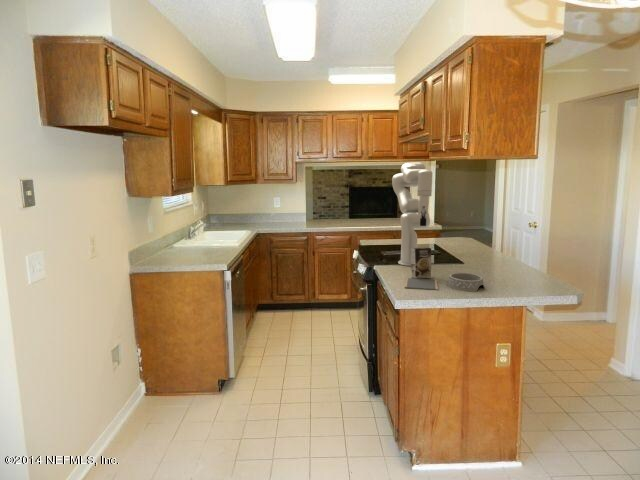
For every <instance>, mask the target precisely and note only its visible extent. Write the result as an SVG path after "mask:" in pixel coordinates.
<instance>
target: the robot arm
mask: <svg viewBox="0 0 640 480" xmlns="http://www.w3.org/2000/svg"><path fill="white" fill-rule="evenodd" d="M391 180H392V181H391V182H392V183H391V184H392V185H391V186H392V188H393V191H394V193H395V195H396V196H397V197H396V198H397V200H398V205H399V209H400V212H401V213H402V214H401V215H400V227H401V229H400V231H401V238H400V239H401V242H400V244H401V245H400V246H401V247H400V259H399V260H398V261H397V263H398V264H399V265H402V266H405V267H406V266H408V267H411V248H418V234H417V232H416V231H415V230H414V229H426V228H428V227H429V226H430V224H431V218H430V214H429V207H430V206H429V204H430V197H432V190H433V171H432V170H429V169H427V168H426V166H425V164H424V163H423V162H418V161H417V162H415V161H414V162H409V161H408V162H405V163H403V164H402V165H401V168H400V173H396V174H394V175H393V176H392V179H391ZM406 187H408V188H409V187H410V188H412V187H413V188H414V187H417V192H416V194H417V195H416V196H417V197H418V198H413V197H412V194H411V192H410V190H409V189H408V188H406Z"/></svg>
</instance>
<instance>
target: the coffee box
mask: <svg viewBox="0 0 640 480" xmlns="http://www.w3.org/2000/svg"><path fill="white" fill-rule="evenodd" d="M410 268H411V269H410V276H411V277H410V278H416V279H431V278H432V248H431V247H417V248H411V266H410Z"/></svg>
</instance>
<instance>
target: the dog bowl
mask: <svg viewBox="0 0 640 480" xmlns="http://www.w3.org/2000/svg"><path fill="white" fill-rule="evenodd" d="M446 283H447V284H446V286H447V287H449V288H451V289H453V290H457V291H462V290H463V291H464V292H478V291H477V290H479V287H480V286H482V285H483V286H482V287H485V285H484V278H483V276H481V275H479V274H476V273H471V272H453V273H450V274H449V277H448V280H447V282H446Z"/></svg>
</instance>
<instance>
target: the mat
mask: <svg viewBox="0 0 640 480" xmlns="http://www.w3.org/2000/svg"><path fill="white" fill-rule="evenodd" d="M404 289H412V290H428V291H439V290H438V279H434V278H433V279H431V278H413V277H406V278H405V283H404Z"/></svg>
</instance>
